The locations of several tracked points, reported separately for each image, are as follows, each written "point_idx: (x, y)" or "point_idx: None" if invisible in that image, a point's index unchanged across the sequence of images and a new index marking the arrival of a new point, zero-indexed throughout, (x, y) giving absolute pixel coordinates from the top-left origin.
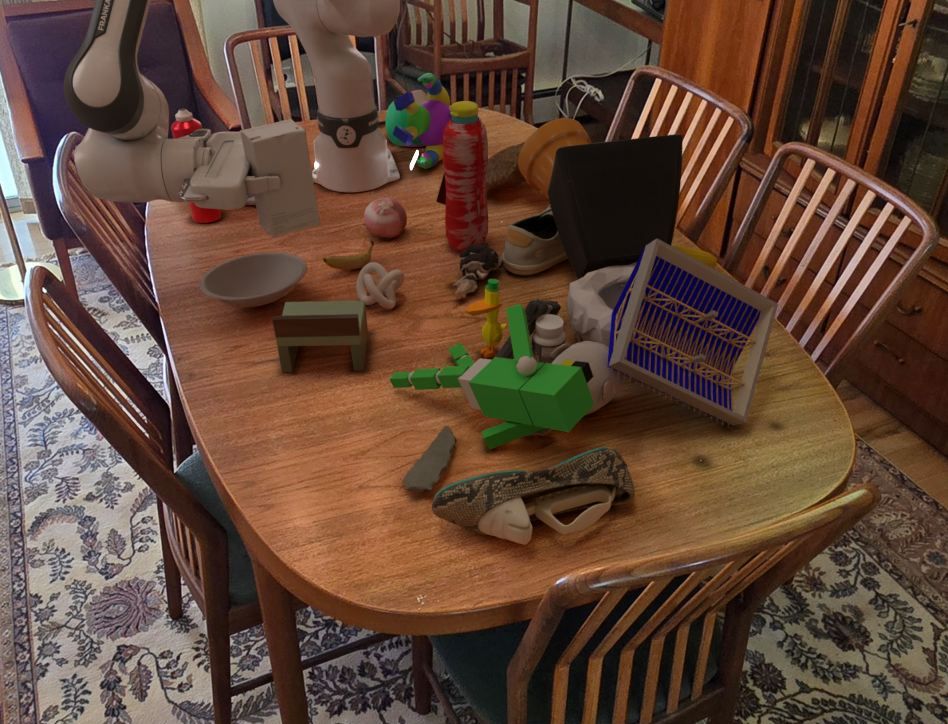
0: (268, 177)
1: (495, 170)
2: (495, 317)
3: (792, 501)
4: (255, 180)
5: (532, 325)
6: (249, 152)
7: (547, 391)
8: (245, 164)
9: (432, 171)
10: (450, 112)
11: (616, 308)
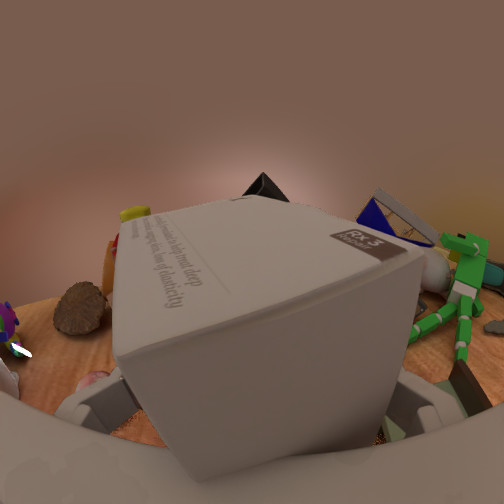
0: (401, 367)
1: (90, 306)
2: None
3: (440, 248)
4: (445, 395)
5: None
6: (334, 388)
7: (486, 243)
8: (342, 461)
9: (27, 355)
10: (131, 219)
11: (394, 232)
